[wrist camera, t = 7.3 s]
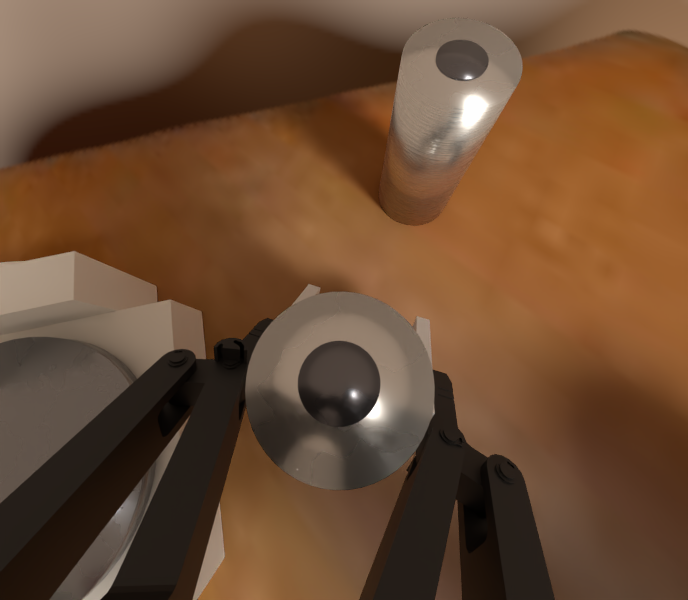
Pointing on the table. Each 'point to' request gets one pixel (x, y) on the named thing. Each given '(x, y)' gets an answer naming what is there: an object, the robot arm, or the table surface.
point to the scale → (105, 338)
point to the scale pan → (63, 433)
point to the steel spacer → (443, 112)
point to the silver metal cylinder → (339, 390)
